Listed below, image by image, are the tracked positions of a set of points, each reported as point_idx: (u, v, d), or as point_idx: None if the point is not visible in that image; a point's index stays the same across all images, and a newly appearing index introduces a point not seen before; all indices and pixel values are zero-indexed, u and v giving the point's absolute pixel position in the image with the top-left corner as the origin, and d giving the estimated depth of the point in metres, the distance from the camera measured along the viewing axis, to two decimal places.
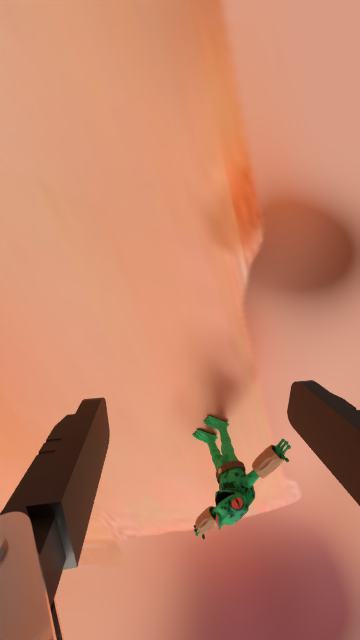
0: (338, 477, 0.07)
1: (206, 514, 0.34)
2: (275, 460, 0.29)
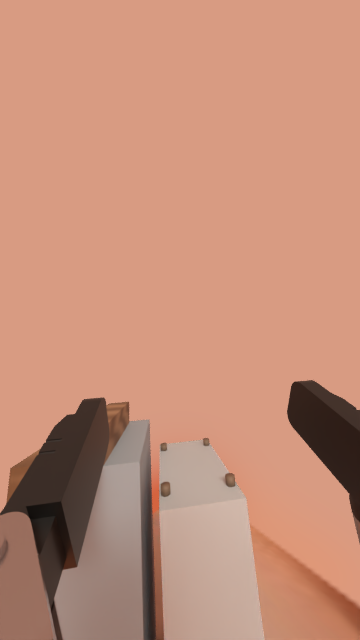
0: (338, 477, 0.07)
1: None
2: None
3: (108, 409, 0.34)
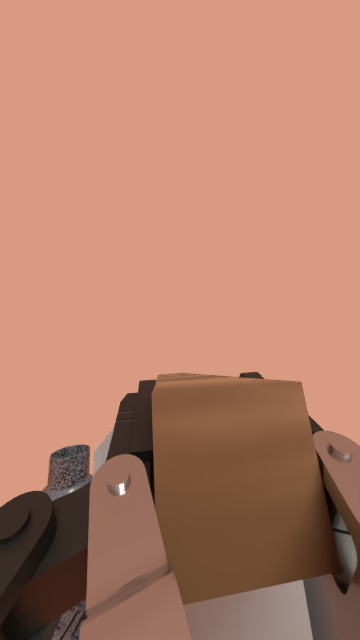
0: None
1: None
2: None
3: None
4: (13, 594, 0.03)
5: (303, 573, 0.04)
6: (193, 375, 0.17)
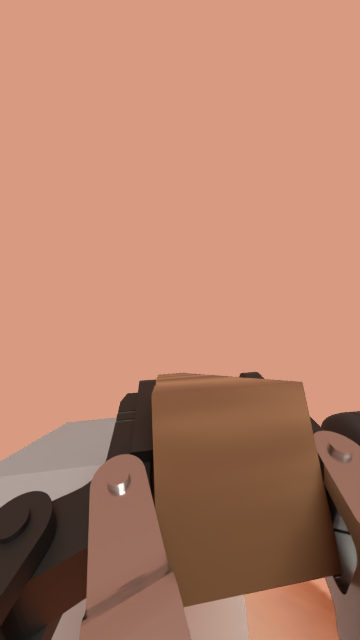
0: None
1: None
2: None
3: None
4: (13, 594, 0.03)
5: (304, 574, 0.04)
6: (193, 375, 0.17)
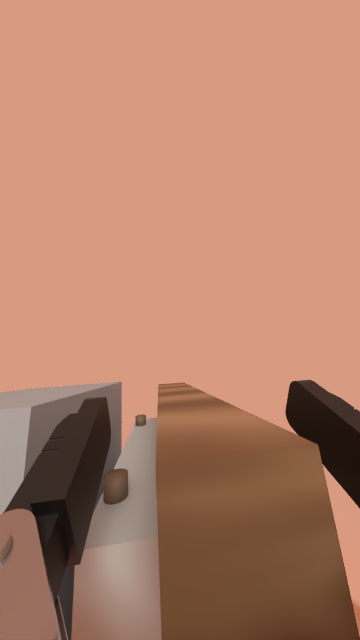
0: (335, 476, 0.07)
1: None
2: None
3: (171, 387, 0.25)
4: None
5: None
6: (195, 394, 0.16)
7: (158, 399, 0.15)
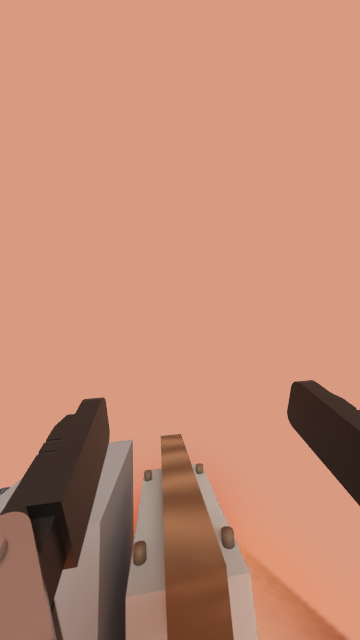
0: (338, 477, 0.07)
1: None
2: None
3: (170, 448, 0.33)
4: None
5: None
6: (187, 474, 0.24)
7: (162, 483, 0.23)
